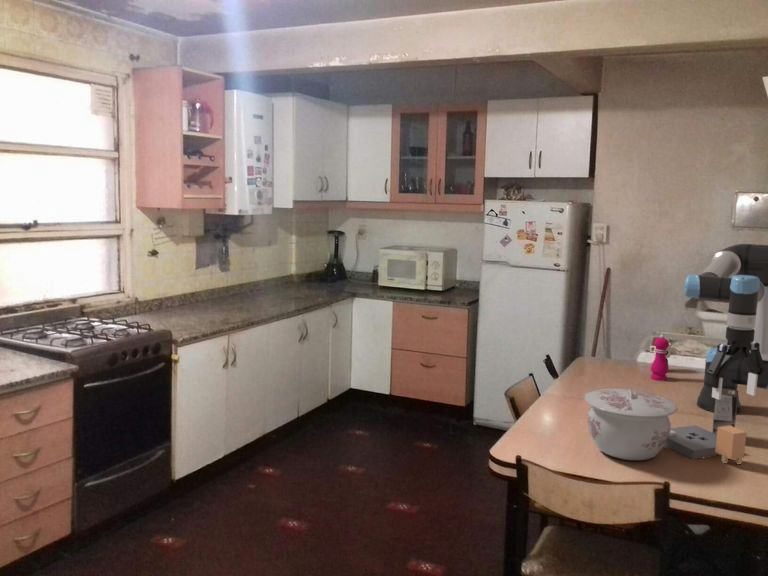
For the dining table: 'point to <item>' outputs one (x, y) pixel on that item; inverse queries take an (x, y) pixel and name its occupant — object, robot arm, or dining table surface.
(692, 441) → the socket plate
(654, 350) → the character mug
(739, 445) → the tan rectangular block
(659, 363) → the pepper mill
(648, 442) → the chamber pot
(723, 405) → the coffee box
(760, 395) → the dining table surface
